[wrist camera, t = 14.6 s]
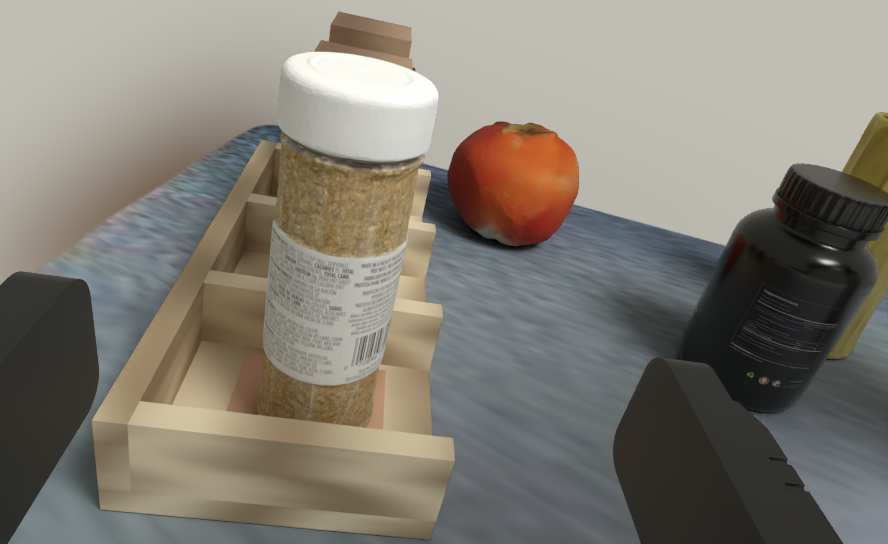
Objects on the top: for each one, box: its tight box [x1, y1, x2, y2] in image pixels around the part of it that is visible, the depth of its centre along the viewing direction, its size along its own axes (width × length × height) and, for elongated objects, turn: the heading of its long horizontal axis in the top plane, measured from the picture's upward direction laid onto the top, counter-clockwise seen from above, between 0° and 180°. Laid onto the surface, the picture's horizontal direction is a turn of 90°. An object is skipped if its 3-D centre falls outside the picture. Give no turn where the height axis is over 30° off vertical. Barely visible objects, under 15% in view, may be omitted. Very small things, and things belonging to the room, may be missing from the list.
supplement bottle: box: [678, 164, 888, 413], centre depth 32 cm, size 7×7×12 cm
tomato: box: [447, 122, 579, 246], centre depth 44 cm, size 9×9×8 cm
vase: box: [827, 112, 888, 359], centre depth 38 cm, size 6×6×14 cm
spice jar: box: [257, 52, 438, 428], centre depth 21 cm, size 5×5×13 cm
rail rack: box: [92, 12, 455, 540], centre depth 29 cm, size 11×25×13 cm, turn 3°
